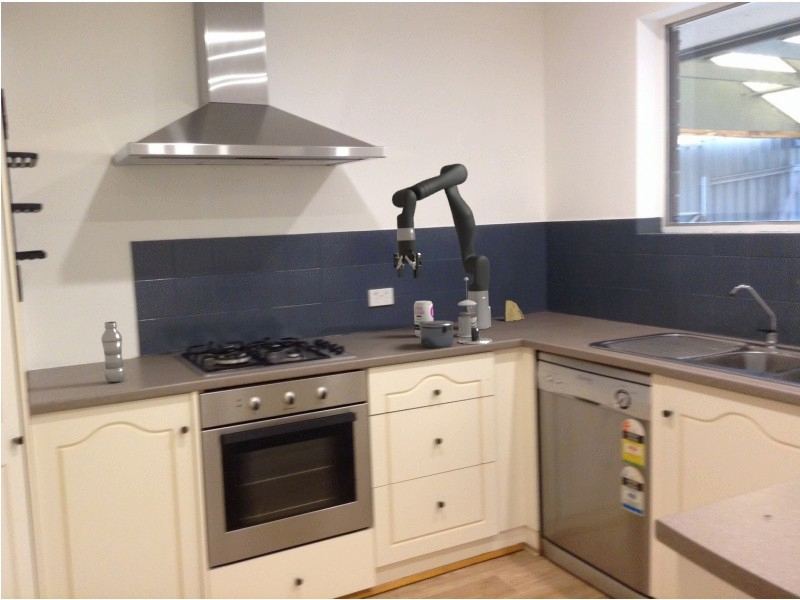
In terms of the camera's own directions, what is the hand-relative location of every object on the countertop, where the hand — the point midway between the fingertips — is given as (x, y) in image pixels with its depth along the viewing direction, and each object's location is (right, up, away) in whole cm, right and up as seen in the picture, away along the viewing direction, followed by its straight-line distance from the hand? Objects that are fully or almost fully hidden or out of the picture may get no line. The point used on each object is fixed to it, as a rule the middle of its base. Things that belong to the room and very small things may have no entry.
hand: (408, 278), depth 280 cm
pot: (+11, -27, -13) cm, 32 cm away
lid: (+27, -26, -8) cm, 38 cm away
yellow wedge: (+52, -19, +50) cm, 75 cm away
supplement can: (+7, -25, +13) cm, 29 cm away
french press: (+26, -24, +9) cm, 37 cm away
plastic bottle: (-98, -36, -56) cm, 118 cm away
